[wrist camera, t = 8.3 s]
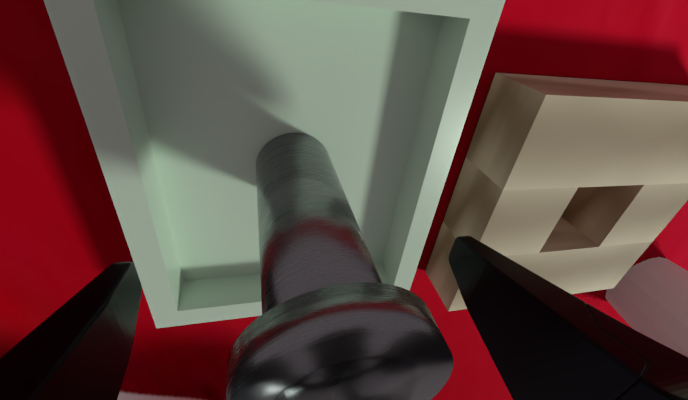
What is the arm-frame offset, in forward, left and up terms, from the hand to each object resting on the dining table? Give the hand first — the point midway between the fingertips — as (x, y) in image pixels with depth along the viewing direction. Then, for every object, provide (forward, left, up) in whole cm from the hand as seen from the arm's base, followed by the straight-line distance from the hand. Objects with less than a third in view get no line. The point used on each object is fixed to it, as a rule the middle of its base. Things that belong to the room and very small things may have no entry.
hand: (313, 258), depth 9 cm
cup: (-12, -29, -6) cm, 32 cm away
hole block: (-2, -14, -6) cm, 16 cm away
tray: (0, 0, -6) cm, 6 cm away
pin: (0, 0, -5) cm, 5 cm away
